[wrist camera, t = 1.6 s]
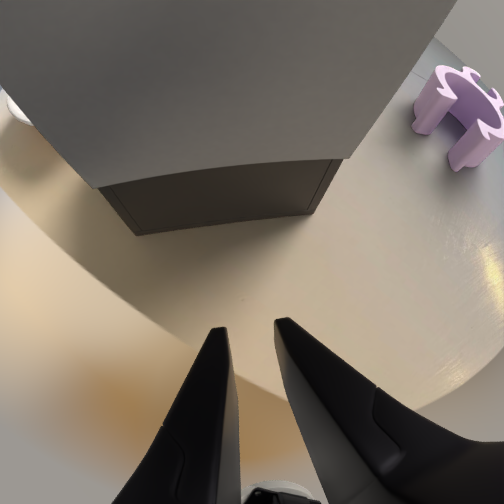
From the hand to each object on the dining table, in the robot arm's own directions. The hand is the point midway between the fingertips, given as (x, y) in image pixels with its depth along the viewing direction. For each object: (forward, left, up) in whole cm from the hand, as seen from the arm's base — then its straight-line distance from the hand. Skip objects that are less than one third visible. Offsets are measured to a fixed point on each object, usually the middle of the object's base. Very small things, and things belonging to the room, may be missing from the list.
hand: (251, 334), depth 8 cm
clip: (+36, -16, -13) cm, 42 cm away
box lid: (+7, +5, +2) cm, 9 cm away
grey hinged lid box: (+12, +8, -13) cm, 19 cm away
